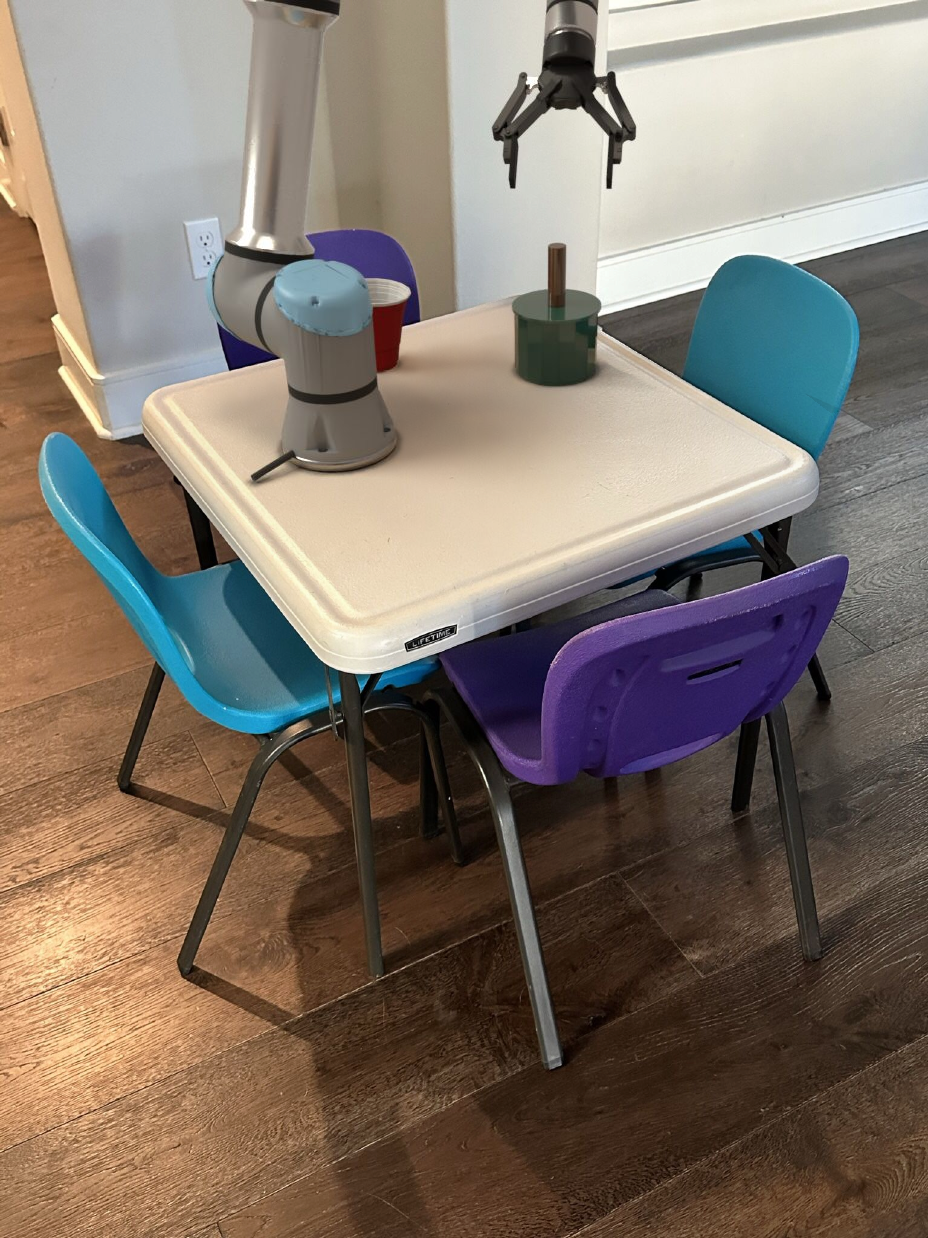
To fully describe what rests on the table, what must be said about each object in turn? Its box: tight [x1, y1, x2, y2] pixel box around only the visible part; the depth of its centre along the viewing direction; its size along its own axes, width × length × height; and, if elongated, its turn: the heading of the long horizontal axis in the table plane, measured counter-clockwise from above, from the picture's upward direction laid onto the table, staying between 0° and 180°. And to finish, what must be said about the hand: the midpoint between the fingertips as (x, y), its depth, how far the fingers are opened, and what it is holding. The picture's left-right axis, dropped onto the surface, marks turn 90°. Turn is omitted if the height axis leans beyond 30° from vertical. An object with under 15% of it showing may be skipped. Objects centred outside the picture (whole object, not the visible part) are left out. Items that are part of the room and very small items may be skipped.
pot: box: [513, 313, 599, 387], centre depth 167 cm, size 12×12×10 cm
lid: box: [511, 242, 603, 324], centre depth 161 cm, size 13×13×10 cm
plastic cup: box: [365, 277, 412, 373], centre depth 170 cm, size 11×11×12 cm
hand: (560, 183), depth 158 cm, fingers open, 13 cm apart
